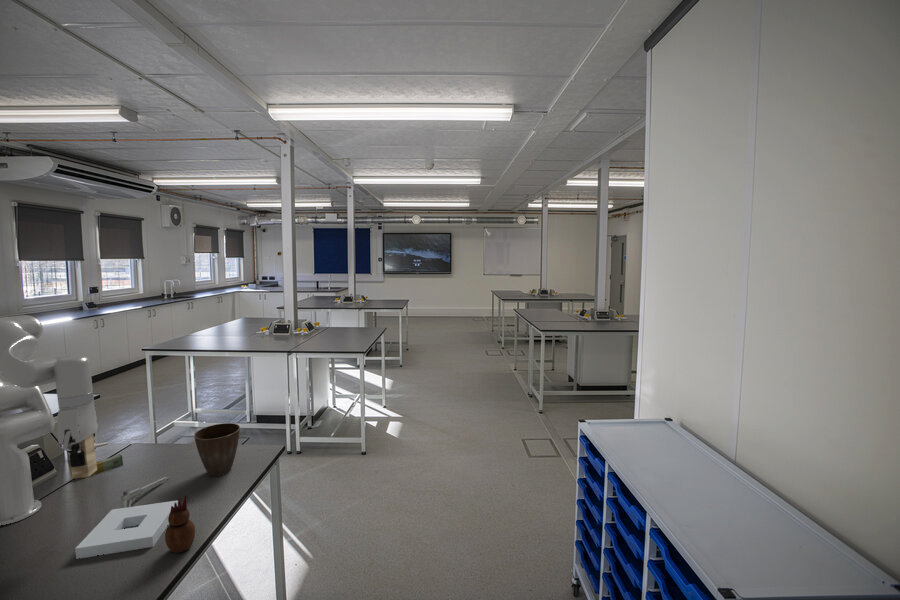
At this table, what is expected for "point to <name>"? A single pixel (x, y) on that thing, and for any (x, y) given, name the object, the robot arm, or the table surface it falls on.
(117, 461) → the medication box
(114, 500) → the table surface
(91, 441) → the maple peg
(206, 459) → the plant pot
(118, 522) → the socket plate
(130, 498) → the caliper
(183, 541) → the wooden figurine
